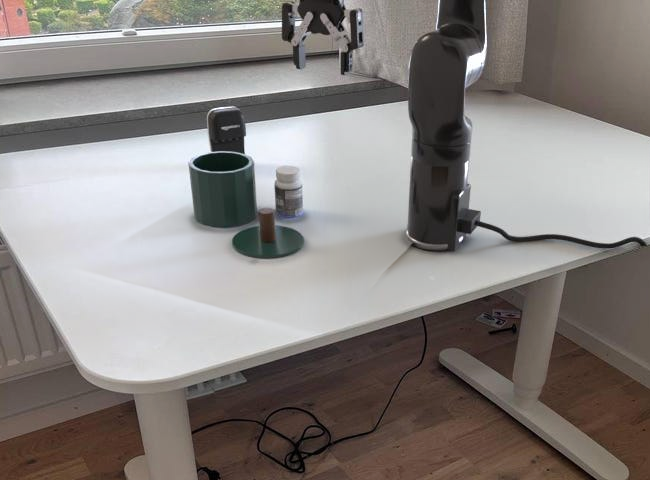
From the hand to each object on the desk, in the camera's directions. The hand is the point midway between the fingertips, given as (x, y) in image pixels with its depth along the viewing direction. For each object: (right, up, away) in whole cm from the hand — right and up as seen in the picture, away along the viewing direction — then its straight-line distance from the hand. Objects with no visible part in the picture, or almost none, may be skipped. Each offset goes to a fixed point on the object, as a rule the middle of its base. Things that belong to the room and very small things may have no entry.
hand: (323, 71), depth 133 cm
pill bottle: (-6, -24, +2) cm, 25 cm away
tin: (-17, -25, 0) cm, 30 cm away
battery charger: (-20, -11, +21) cm, 31 cm away
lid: (-8, -31, -8) cm, 33 cm away
